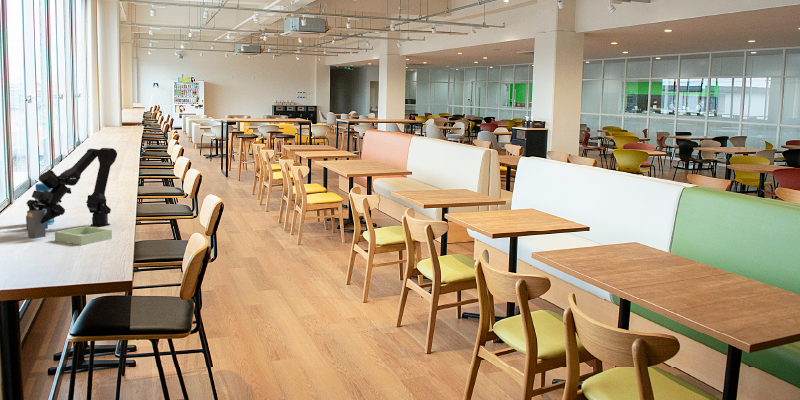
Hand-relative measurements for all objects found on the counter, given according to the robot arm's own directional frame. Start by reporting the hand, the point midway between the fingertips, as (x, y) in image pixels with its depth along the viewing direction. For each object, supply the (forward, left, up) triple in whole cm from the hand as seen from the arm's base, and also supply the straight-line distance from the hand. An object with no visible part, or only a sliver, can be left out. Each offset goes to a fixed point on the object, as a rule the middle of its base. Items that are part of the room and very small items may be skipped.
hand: (33, 221), depth 268 cm
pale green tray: (-8, +21, -7) cm, 24 cm away
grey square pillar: (-1, 0, -7) cm, 7 cm away
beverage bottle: (-23, -24, -7) cm, 34 cm away
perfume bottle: (-13, -16, -7) cm, 22 cm away
